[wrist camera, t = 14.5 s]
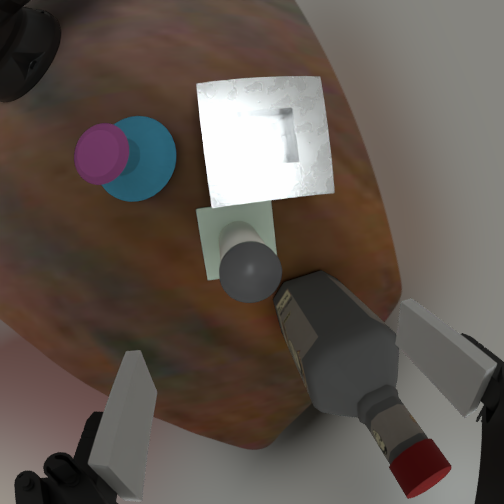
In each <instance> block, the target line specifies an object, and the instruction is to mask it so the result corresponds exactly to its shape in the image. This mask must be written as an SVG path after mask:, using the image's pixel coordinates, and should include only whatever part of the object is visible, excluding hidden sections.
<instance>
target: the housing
mask: <svg viewBox="0 0 504 504" xmlns="http://www.w3.org/2000/svg"><path fill="white" fill-rule="evenodd" d="M196 86H197V95H198V104H199V113H200V122H201V130H202V138H203V146H204V154H205V162H206V169H207V177H208V184H209V191H210V198H211V205H212V208H217V207H224V206H231V205H238V204H245V203H252V202H260V201H268V200H276V199H284V198H292V197H301V196H310V195H319V194H329V193H334V181H333V170H332V159H331V150H330V141H329V133H328V125H327V118H326V111H325V104H324V97H323V91H322V85H321V79H320V77H313V76H283V77H258V78H243V79H232V80H222V81H213V82H206V83H198V84H196Z"/></svg>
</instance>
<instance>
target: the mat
mask: <svg viewBox="0 0 504 504" xmlns="http://www.w3.org/2000/svg"><path fill="white" fill-rule="evenodd" d="M196 213H197V220H198V226H199V232H200V238H201V244H202V250H203V256H204V261H205V267H206V273H207V278H208V280H214V279H220V277H219V267H220V263H221V262H220V252H219V235H220V232H221V230H222V229H223V228H224V227H225V226H226V225H227V224H229V223H231V222H234V221H243V222H246V223H248V224H250V225H251V226H252V227H253V228H254V229H255V230H256V232H257V233H258V235H259V236H260V237H261V239H262V240H263V241H264V243H265V244H266V246H268V247H269V248H271V249H272V250H273V252H274V253H275V254H276V255H277V253H276V243H275V233H274V223H273V214H272V205H271V200H268V201H260V202H252V203H245V204H238V205H231V206H224V207H217V208H212V206H211V207H205V208H198V209H196Z"/></svg>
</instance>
